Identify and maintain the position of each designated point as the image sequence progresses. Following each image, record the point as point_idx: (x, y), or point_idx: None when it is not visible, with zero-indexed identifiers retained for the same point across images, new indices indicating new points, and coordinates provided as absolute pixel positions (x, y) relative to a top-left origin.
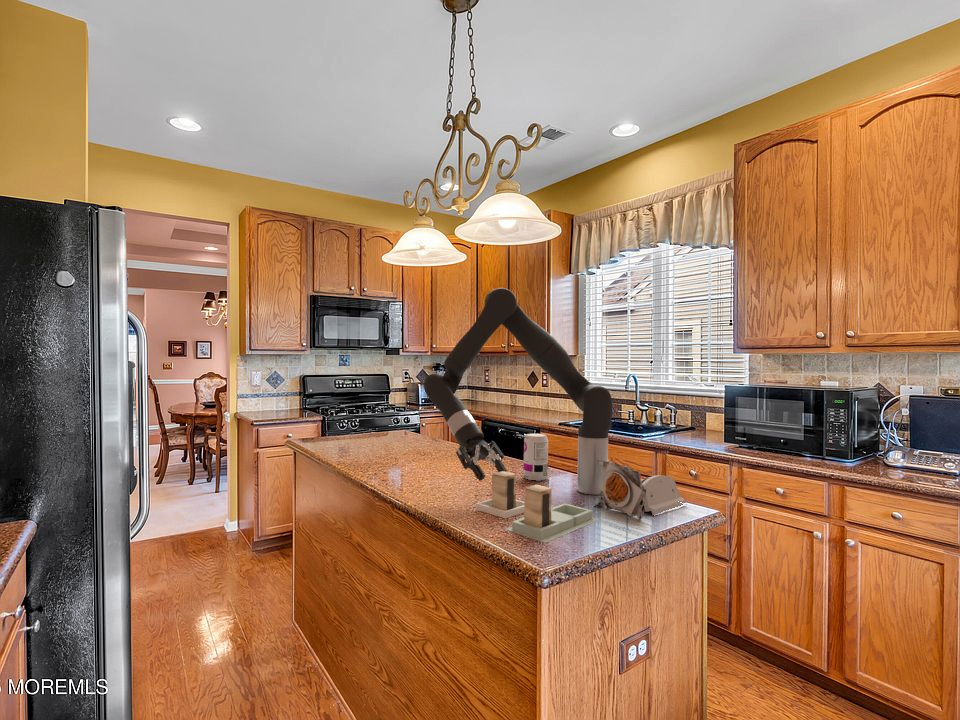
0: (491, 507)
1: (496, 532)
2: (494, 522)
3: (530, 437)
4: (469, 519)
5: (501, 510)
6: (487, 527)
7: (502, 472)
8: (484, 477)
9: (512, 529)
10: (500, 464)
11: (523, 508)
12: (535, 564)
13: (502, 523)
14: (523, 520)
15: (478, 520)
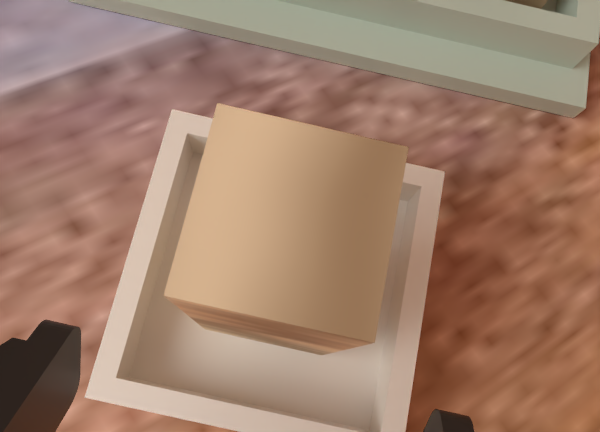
0: (412, 304)
1: (590, 156)
2: (466, 244)
3: None
4: (521, 408)
5: (426, 212)
6: (561, 235)
7: (240, 268)
8: (435, 416)
9: (574, 64)
10: (17, 414)
11: None
12: None
13: (451, 197)
14: (527, 9)
15: (499, 346)
